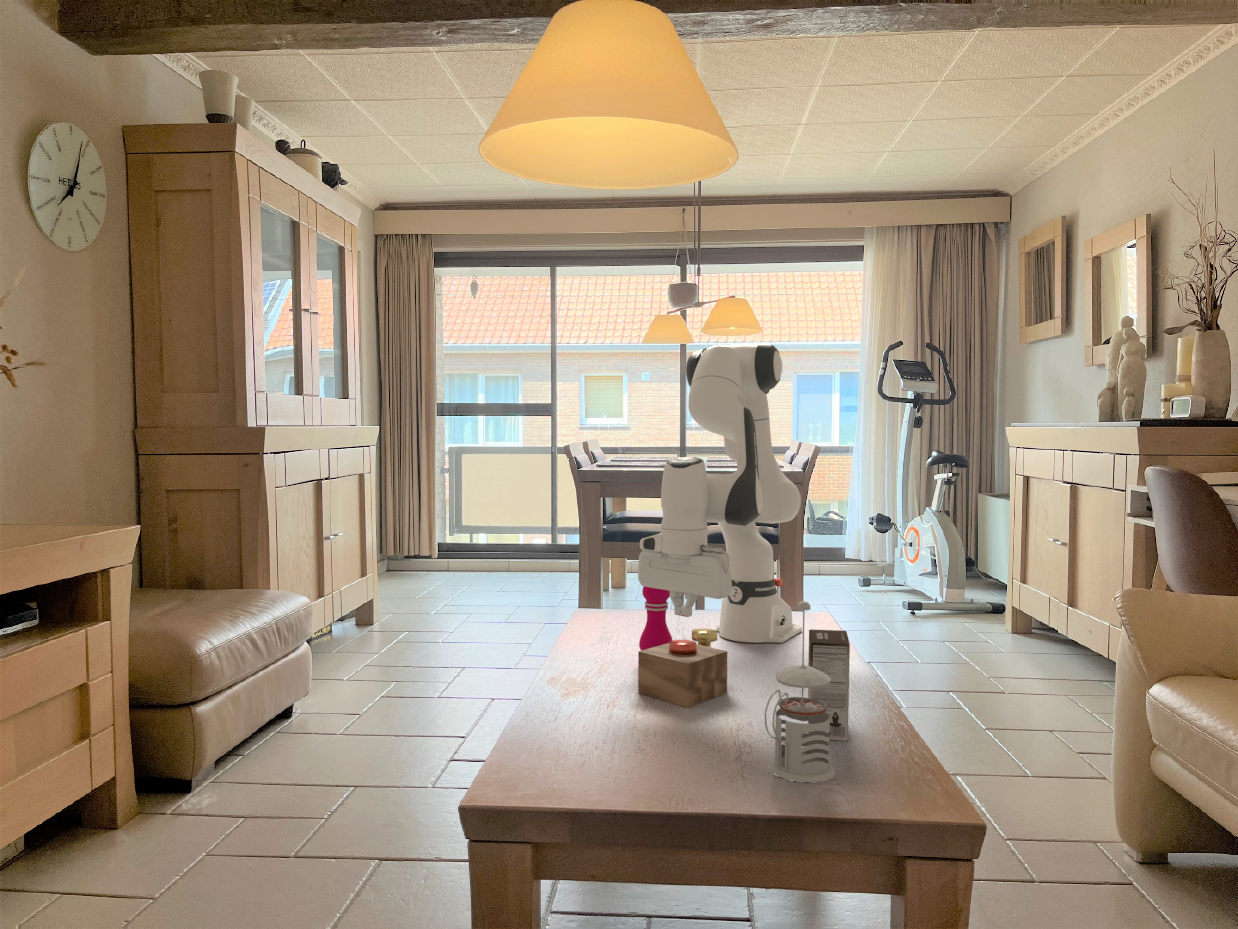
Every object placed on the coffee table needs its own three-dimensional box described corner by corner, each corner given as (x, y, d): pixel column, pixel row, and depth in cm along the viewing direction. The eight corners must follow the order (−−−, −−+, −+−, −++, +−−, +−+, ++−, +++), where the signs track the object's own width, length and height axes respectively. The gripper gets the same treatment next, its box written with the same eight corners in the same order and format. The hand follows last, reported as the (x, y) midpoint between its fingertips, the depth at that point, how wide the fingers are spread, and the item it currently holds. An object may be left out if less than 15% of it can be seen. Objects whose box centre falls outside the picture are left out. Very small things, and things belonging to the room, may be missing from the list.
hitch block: (677, 679, 168) (678, 640, 167) (726, 692, 160) (727, 651, 159) (638, 693, 159) (638, 651, 159) (688, 707, 151) (688, 663, 150)
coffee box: (806, 720, 145) (808, 628, 144) (844, 722, 144) (846, 630, 143) (808, 739, 136) (810, 641, 135) (849, 742, 134) (851, 643, 134)
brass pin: (701, 670, 174) (702, 627, 174) (721, 675, 171) (722, 631, 171) (686, 675, 171) (686, 631, 170) (706, 680, 167) (707, 635, 167)
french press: (850, 773, 122) (853, 603, 121) (792, 792, 116) (794, 612, 115) (801, 752, 130) (803, 592, 129) (744, 767, 124) (746, 600, 123)
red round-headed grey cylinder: (680, 684, 163) (680, 638, 163) (701, 690, 159) (702, 643, 159) (663, 690, 159) (663, 643, 159) (684, 696, 156) (685, 648, 155)
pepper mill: (673, 661, 181) (674, 569, 181) (672, 670, 174) (673, 575, 173) (640, 660, 182) (640, 568, 181) (637, 669, 175) (638, 574, 174)
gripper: (739, 546, 153) (738, 621, 154) (654, 536, 167) (653, 605, 168) (718, 550, 149) (717, 627, 149) (633, 539, 163) (632, 610, 163)
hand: (683, 615), depth 159 cm, fingers closed
